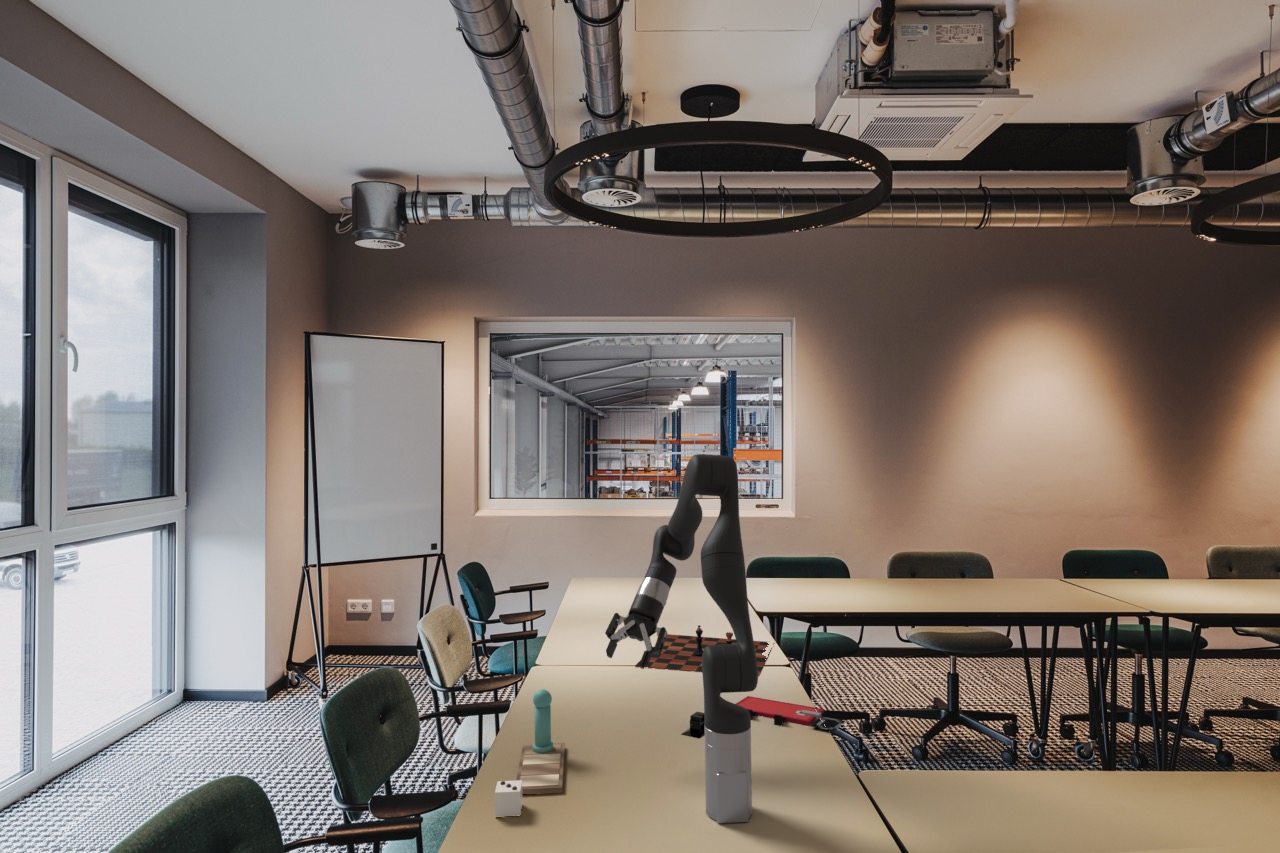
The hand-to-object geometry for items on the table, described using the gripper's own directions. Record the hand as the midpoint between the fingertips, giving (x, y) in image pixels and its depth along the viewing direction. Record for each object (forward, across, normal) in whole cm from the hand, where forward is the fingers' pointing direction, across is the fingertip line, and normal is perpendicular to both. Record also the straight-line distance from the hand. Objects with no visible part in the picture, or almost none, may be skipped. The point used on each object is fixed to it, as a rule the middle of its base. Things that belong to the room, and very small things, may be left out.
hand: (624, 662), depth 183 cm
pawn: (+23, -14, +9) cm, 29 cm away
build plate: (+3, +14, +30) cm, 33 cm away
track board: (+28, -10, +4) cm, 30 cm away
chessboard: (-33, -5, +84) cm, 90 cm away
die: (+39, -6, -12) cm, 41 cm away
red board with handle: (-10, +32, +42) cm, 54 cm away
